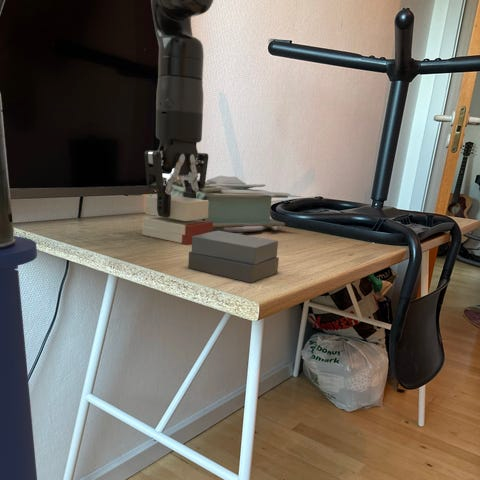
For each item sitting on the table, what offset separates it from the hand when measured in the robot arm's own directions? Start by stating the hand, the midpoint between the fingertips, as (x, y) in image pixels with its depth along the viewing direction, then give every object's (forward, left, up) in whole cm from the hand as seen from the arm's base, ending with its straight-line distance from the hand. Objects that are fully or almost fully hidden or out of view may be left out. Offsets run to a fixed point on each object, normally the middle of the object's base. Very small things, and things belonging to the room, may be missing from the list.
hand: (176, 214), depth 84 cm
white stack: (0, 0, -4) cm, 4 cm away
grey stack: (-12, -20, -4) cm, 24 cm away
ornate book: (+20, +5, -4) cm, 21 cm away
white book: (0, 0, 0) cm, 0 cm away
